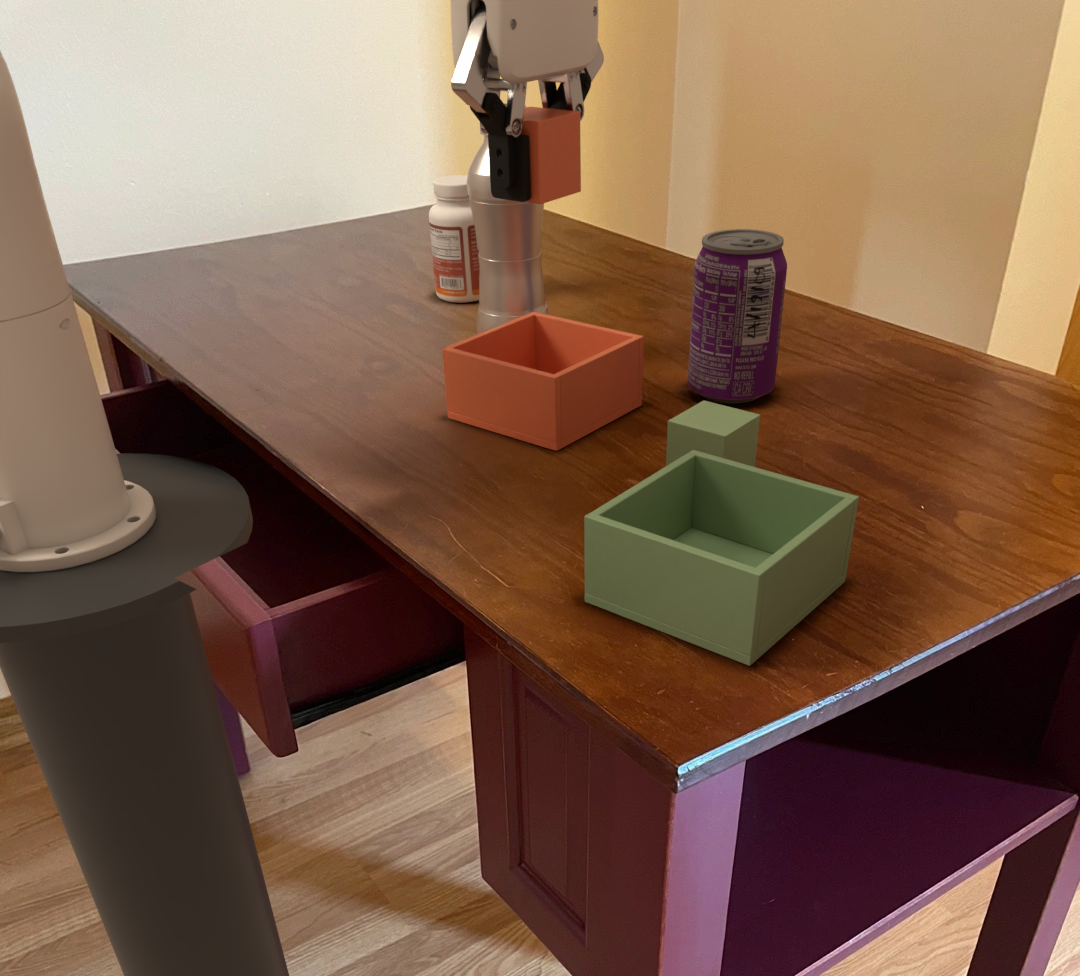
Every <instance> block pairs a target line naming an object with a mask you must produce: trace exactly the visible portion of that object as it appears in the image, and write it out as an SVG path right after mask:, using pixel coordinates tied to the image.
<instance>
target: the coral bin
mask: <svg viewBox="0 0 1080 976" xmlns="http://www.w3.org/2000/svg"><path fill="white" fill-rule="evenodd" d="M644 341H645V336H644V335H641V334H636V333H631V332H626V331H622V330H618V329H615V328H614V329H613V328H609V327H604V326H599V325H595V324H592V323H591V324H590V323H587V322H583V321H578V320H573V319H568V318H564V317H560V316H555V315H551V314H549V315H547V314H542V313H538V312H532V313H530V314H527V315H524V316H522V317H519V318H517V319H514V320H512V321H509V322H507V323H504V324H502V325H499V326H497V327H495V328H492V329H490V330H487V331H485V332H482V333H480V334H477V333H476V334H474V335H472V336H470V337H468V338H465V339H463V340H460V341H457V342H455V343H452V344H450V345H448V346H446V347H443V348H442V349H441V350H442V363H443V375H444V385H445V386H444V388H445V399H446V410H447V413H446V414H447V418H448V419H450V420H453V421H456V422H460V423H463V424H466V425H469V426H473V427H476V428H479V429H483V430H486V431H489V432H492V433H496V434H499V435H503V436H506V437H509V438H512V439H515V440H519V441H523V442H525V443H529V444H533V445H535V446H539V447H541V448H545V449H548V450H551V451H554V452H558V451H560V450H561V449H563V448H565V447H567V446H568V445H571V444H573V443H574V442H577V441H578V440H580V439H582V438H584V437H585V436H587V435H589V434H591V433H593V432H595V431H597V430H599V429H601V428H602V427H604V426H606V425H608V424H609V423H611V422H613V421H615V420H617V419H619V418H621V417H623V416H624V415H626V414H628V413H630V412H632V411H633V410H635V409H637V408H639V407H641V406H642V405H643V380H644V379H643V378H644V377H643V375H644V346H645V344H644V343H645V342H644Z"/></svg>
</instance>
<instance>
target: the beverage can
mask: <svg viewBox="0 0 1080 976" xmlns="http://www.w3.org/2000/svg"><path fill="white" fill-rule="evenodd" d="M784 241H785V239H784V237H783V236H781V235H780V234H778V233H775V232H772V231H767V230H762V229H751V228H733V229H732V228H731V229H723V230H722V229H721V230H715V231H712V232H709V233H707V234H705V235H703V236H702V238H701V246H702V247H701V249H700V251H699V253H698V255H697V257H696V259H695V261H694V265H693V282H692V299H691V300H692V301H691V317H690V319H691V320H690V333H689V335H690V336H689V349H688V350H689V351H688V371H687V386H688V387H689V389H690V390H691V391H693V393H696V394H698V395H699V396H702V398H704V399H706V400H707V401H710V402H713V403H719V404H729V405H730V404H732V405H733V404H734V405H735V404H744V403H749V402H752V401H755V400H757V399H758V398H761V397H763V396H766V395H768V394H769V393H771V392H772V391H773V390H774V389H775V385H776V379H777V378H776V377H777V369H778V368H777V367H778V356H779V350H780V349H779V348H780V341H781V340H780V339H781V330H782V319H783V311H784V302H785V292H786V283H787V282H786V281H787V274H788V273H787V272H788V262H787V259H786V256H785V253H784V250H783V246H784Z"/></svg>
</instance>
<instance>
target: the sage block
mask: <svg viewBox="0 0 1080 976" xmlns="http://www.w3.org/2000/svg"><path fill="white" fill-rule="evenodd" d="M760 420H761V414H760V413H755V412H752V411H747V410H744V409H739V408H735V407H732V406H727V405H724V404H721V403H719V404H718V403H717V402H713V401H709V400H701V401H700V402H698V403H696V404H695V405H692V406H691V407H690V408H688V409H686V410H684V411H683V412H680V413H679V414H677V415H675V416H674V417H672V418H670V419H668V420H667V428H666V429H667V430H666V453H665V454H666V455H665V467H666V466H667V465H669V464H671V463H672V462H674V461H676V460H677V459H679V458H680V457H682V456H684V455H685V454H687V453H689V452H690V451H692V450H696V451H699V452H703V453H706V454H710V455H714V456H717V457H721V458H724V459H728V460H731V461H735V462H738V463H742V464H746V465H749V466H753V467H756V461H757V451H758V441H759V440H758V439H759V430H760V429H759V428H760Z"/></svg>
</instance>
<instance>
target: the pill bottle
mask: <svg viewBox="0 0 1080 976" xmlns="http://www.w3.org/2000/svg"><path fill="white" fill-rule="evenodd" d="M467 176H468V174H456V175H455V174H453V175H447V176H445V175H444V176H441V177H438V178H436V179H434V180H433V185H432V186H433V194H434V198H435V199H436V203H434V204H433V205H432V206H431V207H430V209H429V212H428V225H429V234H430V245H431V246H430V247H431V257H432V267H433V268H432V269H433V278H434V279H433V280H434V289H435V294H436V296H437V298H439V299H441V300H443V301H445V302H448V303H449V302H450V303H457V304H458V303H459V304H463V303H464V304H465V303H473V302H479V273H480V266H479V257H478V254H479V250H478V248H477V240H476V231H475V226H474V221H473V216H472V211H471V206H470V201H469V194H468V189H467Z"/></svg>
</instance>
